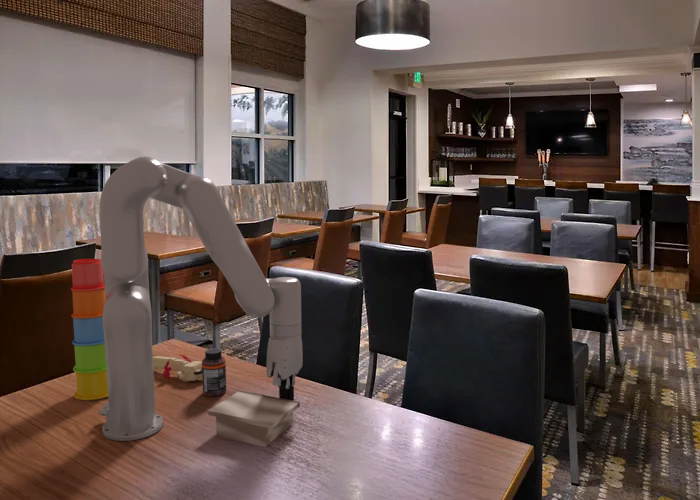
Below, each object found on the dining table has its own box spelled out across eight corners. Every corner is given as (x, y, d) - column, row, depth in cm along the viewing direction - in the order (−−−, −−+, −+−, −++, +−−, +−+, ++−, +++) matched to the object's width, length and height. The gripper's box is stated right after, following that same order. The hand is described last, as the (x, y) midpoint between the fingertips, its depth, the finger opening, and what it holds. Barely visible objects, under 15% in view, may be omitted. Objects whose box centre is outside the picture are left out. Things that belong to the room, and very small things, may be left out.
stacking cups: (66, 401, 139) (57, 263, 134) (85, 385, 149) (77, 256, 144) (108, 401, 139) (100, 263, 134) (124, 386, 149) (117, 257, 144)
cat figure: (125, 377, 159) (193, 386, 147) (122, 347, 158) (190, 354, 146) (152, 366, 167) (218, 374, 156) (149, 338, 166) (215, 343, 155)
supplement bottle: (208, 387, 148) (206, 346, 147) (229, 388, 148) (228, 347, 146) (199, 396, 142) (197, 353, 141) (221, 397, 142) (220, 354, 140)
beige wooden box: (240, 412, 133) (239, 390, 132) (299, 425, 127) (299, 401, 126) (208, 434, 122) (208, 410, 121) (272, 449, 116) (271, 423, 115)
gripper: (288, 319, 142) (288, 388, 145) (254, 335, 129) (256, 411, 132) (314, 323, 139) (314, 393, 142) (282, 339, 126) (284, 417, 128)
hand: (286, 401), depth 137 cm, fingers closed
